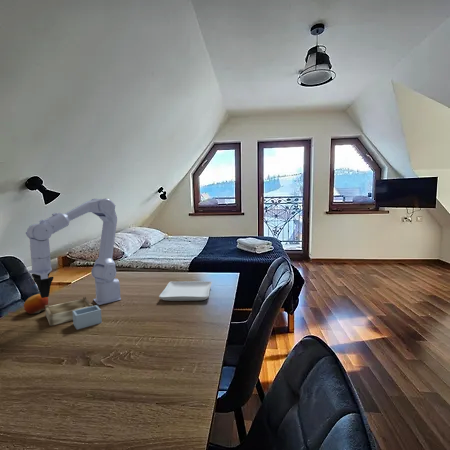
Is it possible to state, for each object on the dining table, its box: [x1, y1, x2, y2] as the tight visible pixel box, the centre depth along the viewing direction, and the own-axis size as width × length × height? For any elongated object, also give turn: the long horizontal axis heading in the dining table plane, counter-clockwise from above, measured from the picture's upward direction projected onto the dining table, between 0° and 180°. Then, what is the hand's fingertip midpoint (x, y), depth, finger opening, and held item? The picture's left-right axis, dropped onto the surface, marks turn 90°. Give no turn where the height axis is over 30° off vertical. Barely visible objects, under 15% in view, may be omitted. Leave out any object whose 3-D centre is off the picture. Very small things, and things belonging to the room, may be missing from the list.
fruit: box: [23, 293, 49, 315], centre depth 108 cm, size 8×8×8 cm
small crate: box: [72, 304, 103, 330], centre depth 97 cm, size 8×5×5 cm
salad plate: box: [158, 280, 213, 302], centre depth 125 cm, size 21×21×3 cm
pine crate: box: [45, 296, 94, 326], centre depth 104 cm, size 14×11×4 cm
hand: (43, 294), depth 99 cm, fingers open, 7 cm apart
